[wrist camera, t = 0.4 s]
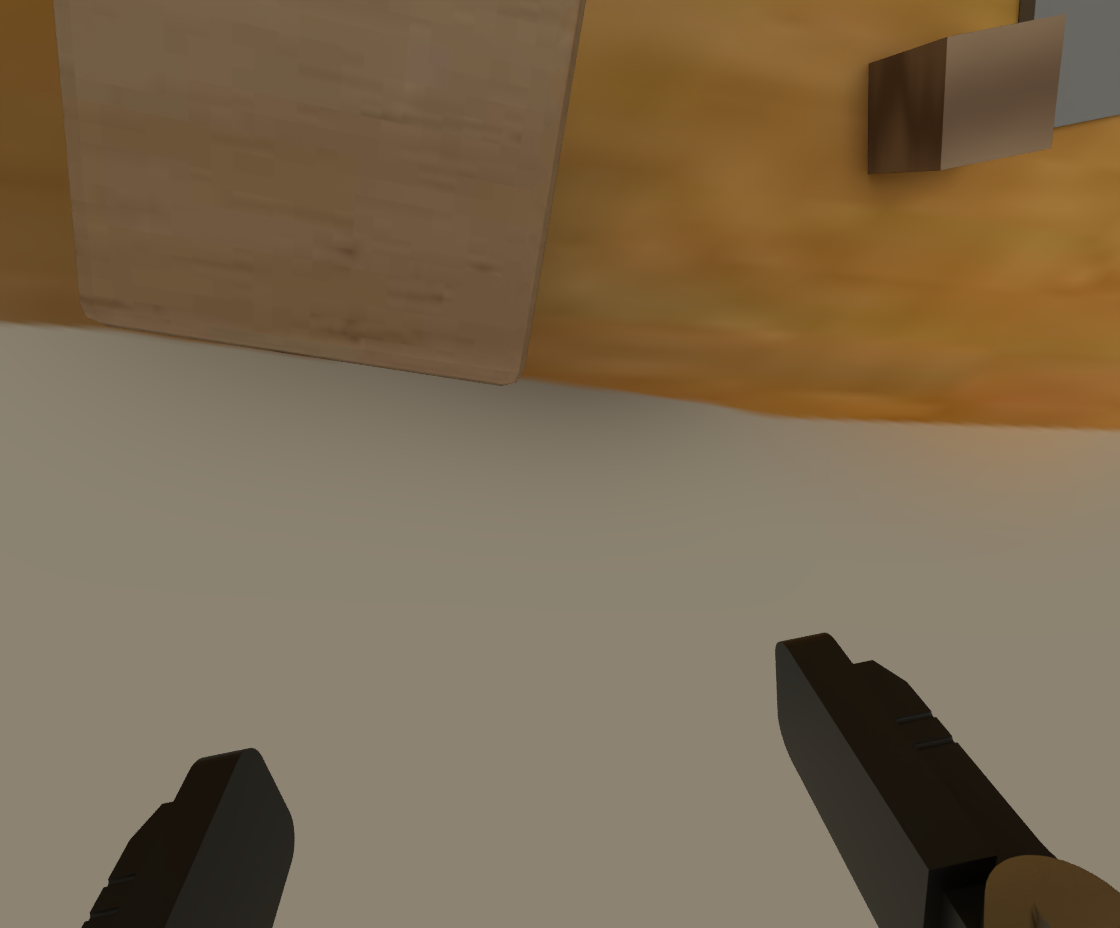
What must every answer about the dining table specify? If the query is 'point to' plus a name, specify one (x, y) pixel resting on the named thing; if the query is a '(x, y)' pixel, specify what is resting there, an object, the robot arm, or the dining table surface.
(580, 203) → the dining table surface
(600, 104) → the dining table surface
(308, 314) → the wooden block
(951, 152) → the walnut block
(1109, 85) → the grey flat rectangular panel
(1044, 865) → the robot arm
